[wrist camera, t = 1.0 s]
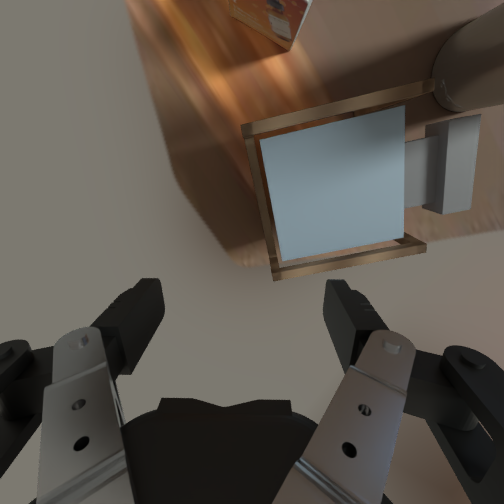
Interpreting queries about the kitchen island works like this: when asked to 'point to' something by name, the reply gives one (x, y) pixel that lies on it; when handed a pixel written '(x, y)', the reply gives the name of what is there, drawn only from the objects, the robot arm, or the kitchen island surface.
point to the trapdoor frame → (355, 104)
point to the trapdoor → (365, 179)
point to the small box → (272, 17)
